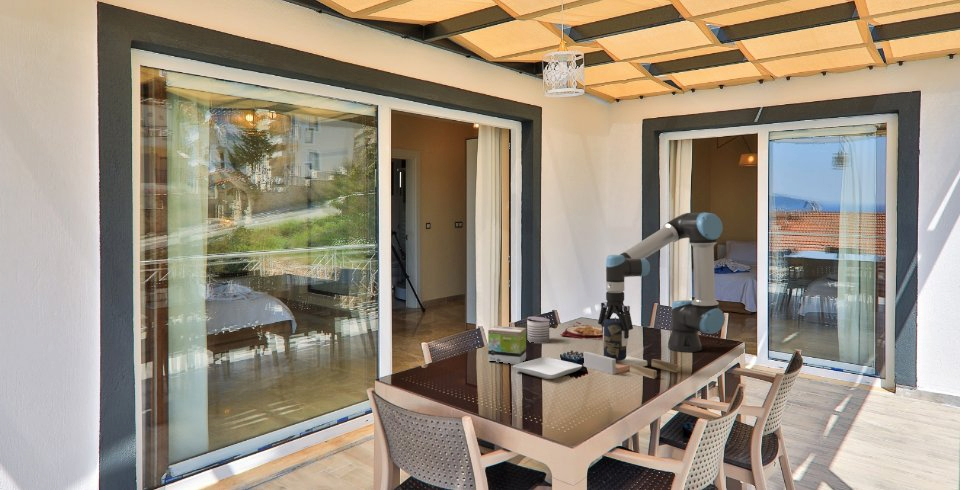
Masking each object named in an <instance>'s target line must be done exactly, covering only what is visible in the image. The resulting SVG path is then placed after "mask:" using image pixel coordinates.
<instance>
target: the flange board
mask: <svg viewBox="0 0 960 490" xmlns="http://www.w3.org/2000/svg"><path fill="white" fill-rule="evenodd" d="M583 358H584V363H582V367H585V368H588V369H592V370H594V371H595V370H596V371H599V372H602V373H606V374H610V375H616V374H620V373H624V372H628V371H630V365H631V364H633V365H637V366H641V367H646V366H648V360H645V359H642V358H638V357H633V356H629V355H626V358H625V359H624V360H618V361H616V359H613V358H609V357H606V356H604V355H602V354H601V355H600V354H598V353H594V352H590V351H584V352H583Z"/></svg>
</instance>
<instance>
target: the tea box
mask: <svg viewBox="0 0 960 490" xmlns="http://www.w3.org/2000/svg"><path fill="white" fill-rule="evenodd" d="M487 333H488V335H487V355H488V357H487V359H488V362H489V361H496V362H495V363H499V362H503V363H502V364H508V363H510V364H509V365H516V364H520V363H523V361H524V362H526V359H527V327H517V326H505V325H504V326H503V325H493V326H492V327H490V329H488V330H487Z"/></svg>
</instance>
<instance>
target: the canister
mask: <svg viewBox="0 0 960 490" xmlns="http://www.w3.org/2000/svg"><path fill="white" fill-rule="evenodd" d="M622 330H623V327H622V323H621V322H620V320H619V317H614V318H613V317H611V318H609V319H605V320H604V342H603V356H606V357H609V358H613V359H616V361H618V360H624V359H625V358H626V356H627V346H622Z"/></svg>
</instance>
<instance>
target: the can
mask: <svg viewBox="0 0 960 490" xmlns="http://www.w3.org/2000/svg"><path fill="white" fill-rule="evenodd" d="M526 322H527V323H526V324H527V326H526V341H527V340H528V341H529V343H531V342H534V343H533V344H546V343H549V342H550V318H546V317H542V316H541V317H540V316H528V317H527V319H526ZM528 341H527V342H528Z"/></svg>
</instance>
